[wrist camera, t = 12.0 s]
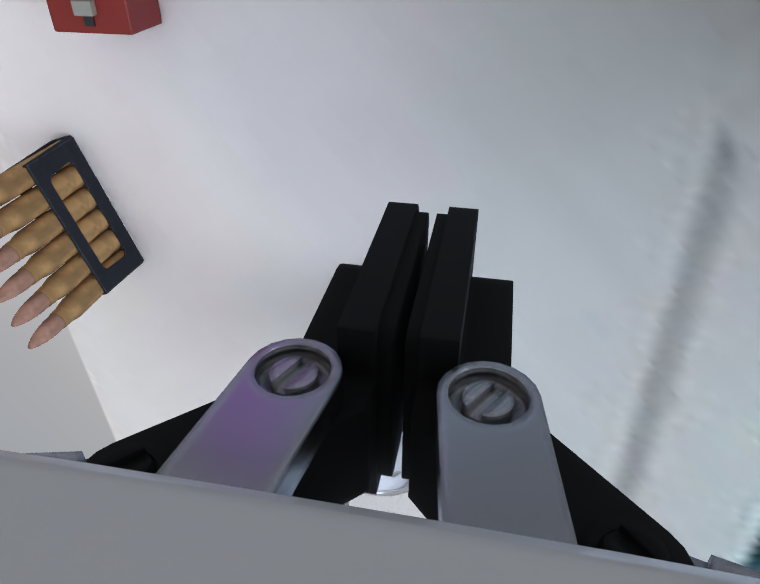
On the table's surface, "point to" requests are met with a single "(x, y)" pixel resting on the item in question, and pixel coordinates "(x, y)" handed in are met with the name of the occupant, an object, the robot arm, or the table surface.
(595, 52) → the table surface
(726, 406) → the table surface
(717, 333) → the table surface
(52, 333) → the ammunition clip
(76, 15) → the pencil case
